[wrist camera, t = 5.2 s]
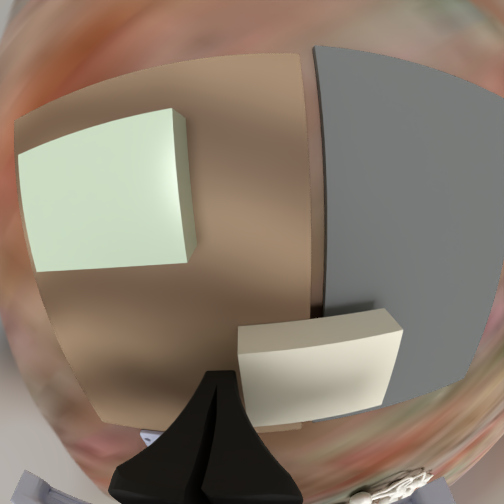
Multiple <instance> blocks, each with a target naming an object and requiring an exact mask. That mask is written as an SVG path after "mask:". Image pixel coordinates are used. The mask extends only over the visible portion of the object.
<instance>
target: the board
mask: <svg viewBox="0 0 504 504" xmlns="http://www.w3.org/2000/svg"><path fill="white" fill-rule="evenodd" d="M169 108H173V109H174V110H175V111H177V112H178V113H179V114H181V115H182V116H183V117H185V118H186V133H187V147H188V160H189V172H190V183H191V194H192V204H193V213H194V222H195V231H196V239H197V247H196V248H195V250H194V252H193V254H192V255H191V257H190V259H189V261H188V262H187V263H176V264H161V265H145V266H129V267H113V268H97V269H80V270H62V271H45V272H37V271H36V267H35V264H34V260H33V256H32V252H31V247H30V243H29V238H28V234H27V229H26V223H25V217H24V211H23V205H22V197H21V189H20V178H19V165H18V155H19V154H21V153H24V152H26V151H28V150H30V149H33V148H35V147H37V146H40V145H42V144H45V143H47V142H50V141H52V140H55V139H58V138H60V137H63V136H66V135H69V134H72V133H75V132H78V131H81V130H84V129H87V128H90V127H93V126H97V125H100V124H104V123H107V122H111V121H115V120H118V119H122V118H126V117H131V116H135V115H139V114H144V113H149V112H153V111H159V110H164V109H169ZM14 152H15V172H16V183H17V193H18V201H19V208H20V214H21V220H22V226H23V231H24V236H25V241H26V245H27V250H28V254H29V258H30V262H31V265H32V269H33V273H34V276H35V280H36V283H37V286H38V289H39V292H40V295H41V298H42V301H43V304H44V307H45V310H46V312H47V315H48V318H49V320H50V323H51V325H52V328H53V330H54V333H55V335H56V337H57V340H58V342H59V344H60V346H61V348H62V351H63V353H64V355H65V357H66V359H67V361H68V363H69V365H70V367H71V369H72V371H73V373H74V375H75V377H76V379H77V380H78V382H79V384H80V386H81V388H82V389H83V391H84V393H85V395H86V396H87V398H88V400H89V401H90V403H91V405H92V406H93V408H94V409H95V411H96V413H97V414H98V416H99V417H100V419H101V420H102V422H106V423H111V424H117V425H122V426H128V427H134V428H141V429H149V430H157V431H166V430H167V429H168V427H169V426H170V425H171V424H172V423H173V422H174V421H175V419H176V418H177V417H178V416H179V414H180V413H181V412H182V410H183V409H184V408H185V406H186V405H187V403H188V402H189V400H190V399H191V397H192V396H193V394H194V392H195V391H196V389H197V387H198V386H199V384H200V382H201V380H202V378H203V376H204V374H205V372H206V371H217V370H234V371H235V372H236V377H237V383H238V389H239V396H240V399H241V401H242V404H243V407H244V409H245V411H246V407H245V401H244V395H243V388H242V381H241V375H240V368H239V361H238V326H248V325H260V324H271V323H281V322H290V321H299V320H308V319H310V299H311V202H310V174H309V155H308V138H307V124H306V112H305V101H304V90H303V81H302V72H301V63H300V55H299V54H289V53H265V54H242V55H228V56H218V57H209V58H201V59H194V60H188V61H182V62H176V63H171V64H166V65H161V66H156V67H152V68H148V69H144V70H140V71H136V72H132V73H128V74H125V75H121V76H118V77H115V78H111V79H108V80H105V81H102V82H99V83H96V84H93V85H91V86H88V87H85V88H83V89H80V90H77V91H75V92H72V93H70V94H68V95H65V96H63V97H61V98H58V99H56V100H54V101H52V102H49V103H47V104H45V105H43V106H41V107H39V108H37V109H35V110H33V111H31V112H29V113H27V114H25V115H24V116H22V117H20V118H18V119H16V120H15V123H14ZM254 429H255V431H256V433H265V432H277V431H287V430H296V429H302V422H296V423H289V424H280V425H270V426H259V427H254Z"/></svg>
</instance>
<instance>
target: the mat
mask: <svg viewBox="0 0 504 504" xmlns="http://www.w3.org/2000/svg"><path fill="white" fill-rule="evenodd" d="M313 55H314V62H315V70H316V78H317V87H318V97H319V107H320V119H321V132H322V147H323V166H324V196H325V260H324V290H323V309H322V318H323V317H331V316H338V315H345V314H351V313H358V312H364V311H370V310H376V309H381V308H385V309H386V310H387V311H388V313H389V314H390V315H391V316H392V317H393V318H394V319H395V321H396V322H397V323H398V324H399V325H400V326H401V327H402V329H403V334H402V338H401V342H400V346H399V350H398V353H397V357H396V361H395V364H394V368H393V371H392V374H391V378H390V381H389V384H388V387H387V390H386V393H385V396H384V399H383V401H382V404H381V405H379V406H375V407H371V408H367V409H364V410H360V411H355V412H351V413H347V414H342V415H337V416H332V417H327V418H322V419H316V420H312V422H319V421H325V420H331V419H336V418H341V417H346V416H351V415H355V414H360V413H364V412H368V411H372V410H376V409H379V408H383V407H387V406H390V405H394V404H397V403H400V402H403V401H406V400H409V399H412V398H415V397H418V396H421V395H424V394H427V393H429V392H432V391H435V390H437V389H440V388H442V387H445V386H447V385H450V384H452V383H454V382H457V381H459V380H461V379H463V378H464V377H465V375H466V372H467V370H468V368H469V366H470V364H471V361H472V359H473V357H474V355H475V352H476V350H477V347H478V345H479V342H480V340H481V337H482V334H483V332H484V329H485V326H486V323H487V320H488V317H489V314H490V311H491V308H492V304H493V301H494V298H495V294H496V290H497V286H498V282H499V278H500V274H501V269H502V265H503V260H504V98H502V97H500V96H498V95H496V94H494V93H492V92H490V91H488V90H486V89H484V88H482V87H479V86H477V85H475V84H473V83H470V82H468V81H466V80H463V79H461V78H458V77H456V76H453V75H450V74H447V73H445V72H442V71H439V70H436V69H433V68H430V67H427V66H423V65H420V64H417V63H413V62H409V61H406V60H402V59H398V58H393V57H389V56H385V55H380V54H375V53H369V52H364V51H358V50H351V49H344V48H336V47H326V46H314V47H313Z"/></svg>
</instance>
